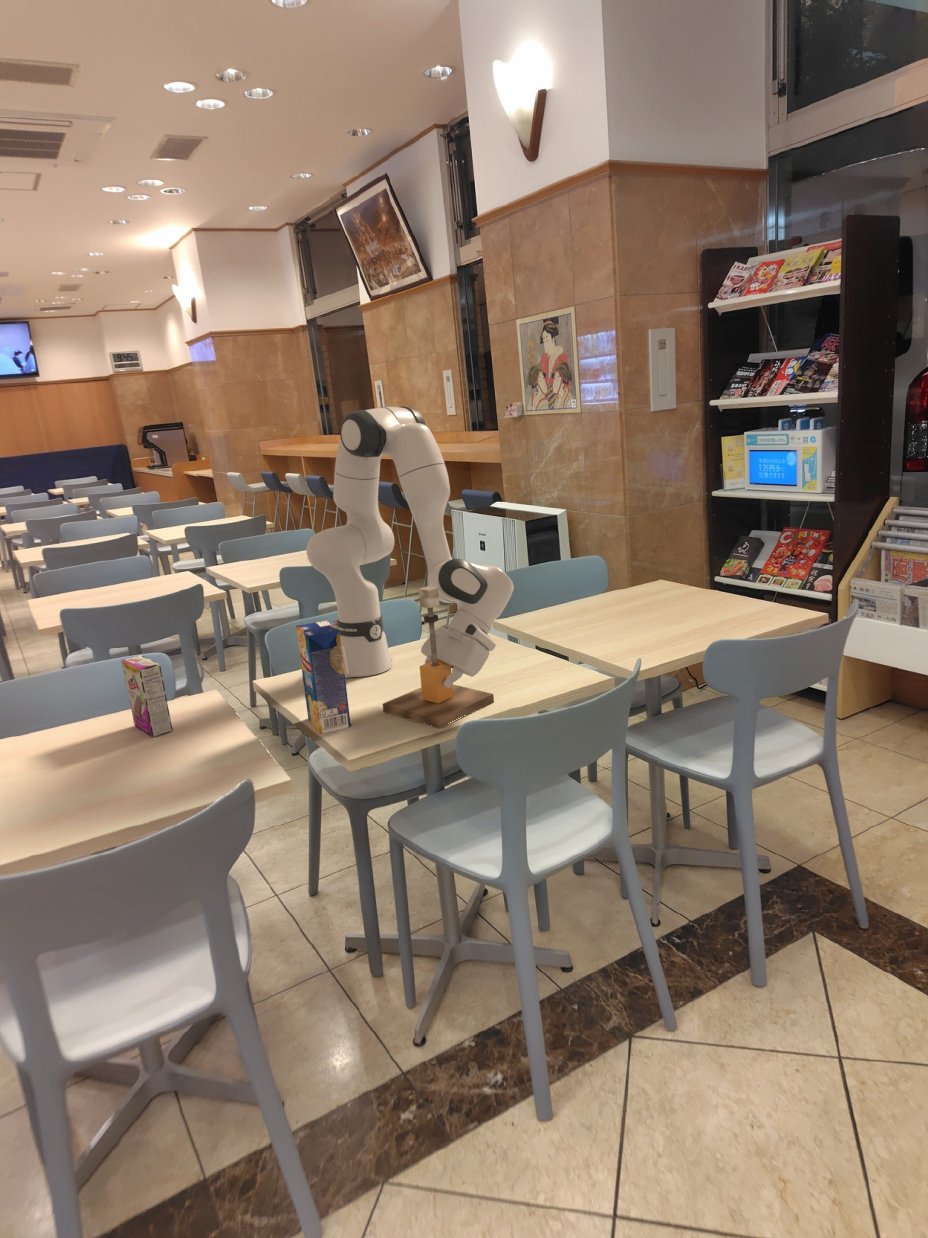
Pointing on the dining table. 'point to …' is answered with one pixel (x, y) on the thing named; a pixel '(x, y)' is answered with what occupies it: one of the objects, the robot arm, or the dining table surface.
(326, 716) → the blue food box
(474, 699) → the cord stand
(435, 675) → the marker sleeve
